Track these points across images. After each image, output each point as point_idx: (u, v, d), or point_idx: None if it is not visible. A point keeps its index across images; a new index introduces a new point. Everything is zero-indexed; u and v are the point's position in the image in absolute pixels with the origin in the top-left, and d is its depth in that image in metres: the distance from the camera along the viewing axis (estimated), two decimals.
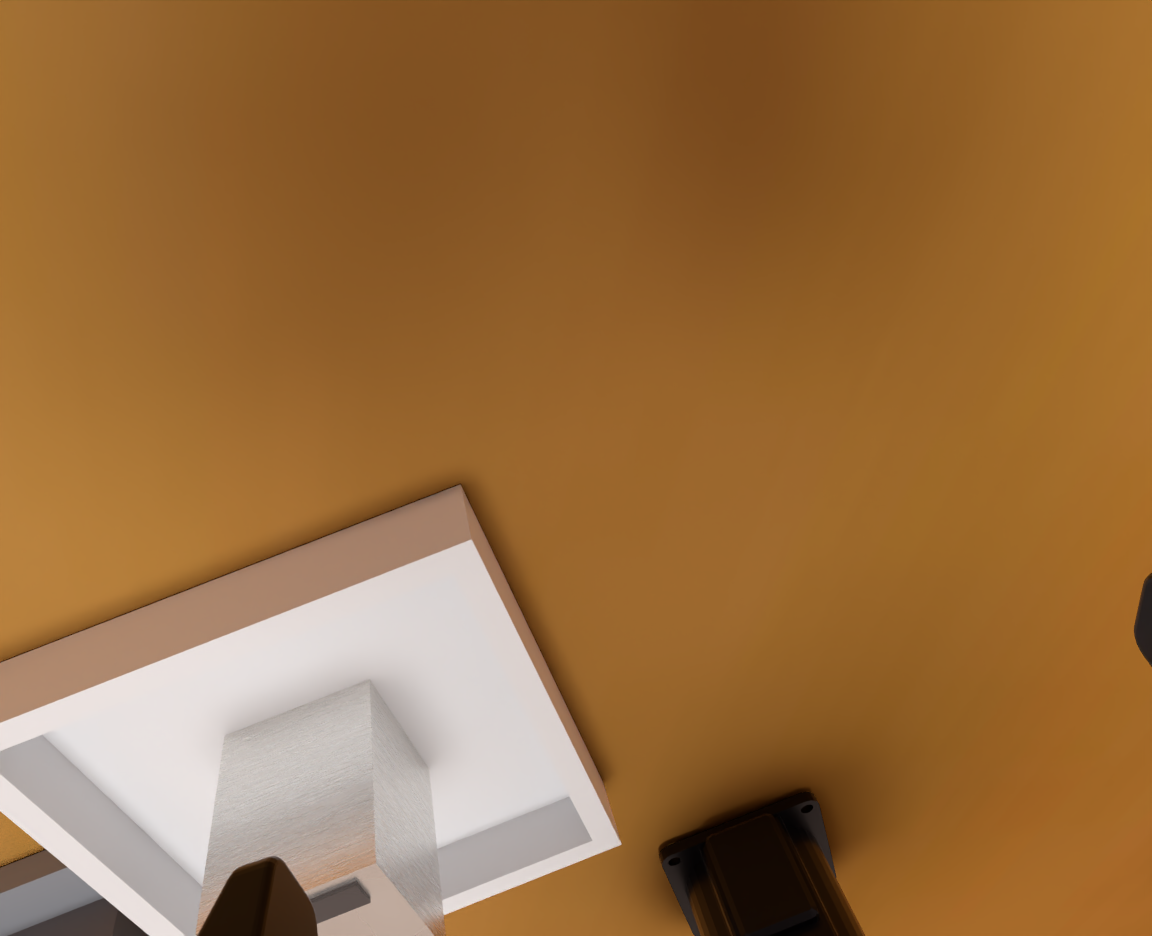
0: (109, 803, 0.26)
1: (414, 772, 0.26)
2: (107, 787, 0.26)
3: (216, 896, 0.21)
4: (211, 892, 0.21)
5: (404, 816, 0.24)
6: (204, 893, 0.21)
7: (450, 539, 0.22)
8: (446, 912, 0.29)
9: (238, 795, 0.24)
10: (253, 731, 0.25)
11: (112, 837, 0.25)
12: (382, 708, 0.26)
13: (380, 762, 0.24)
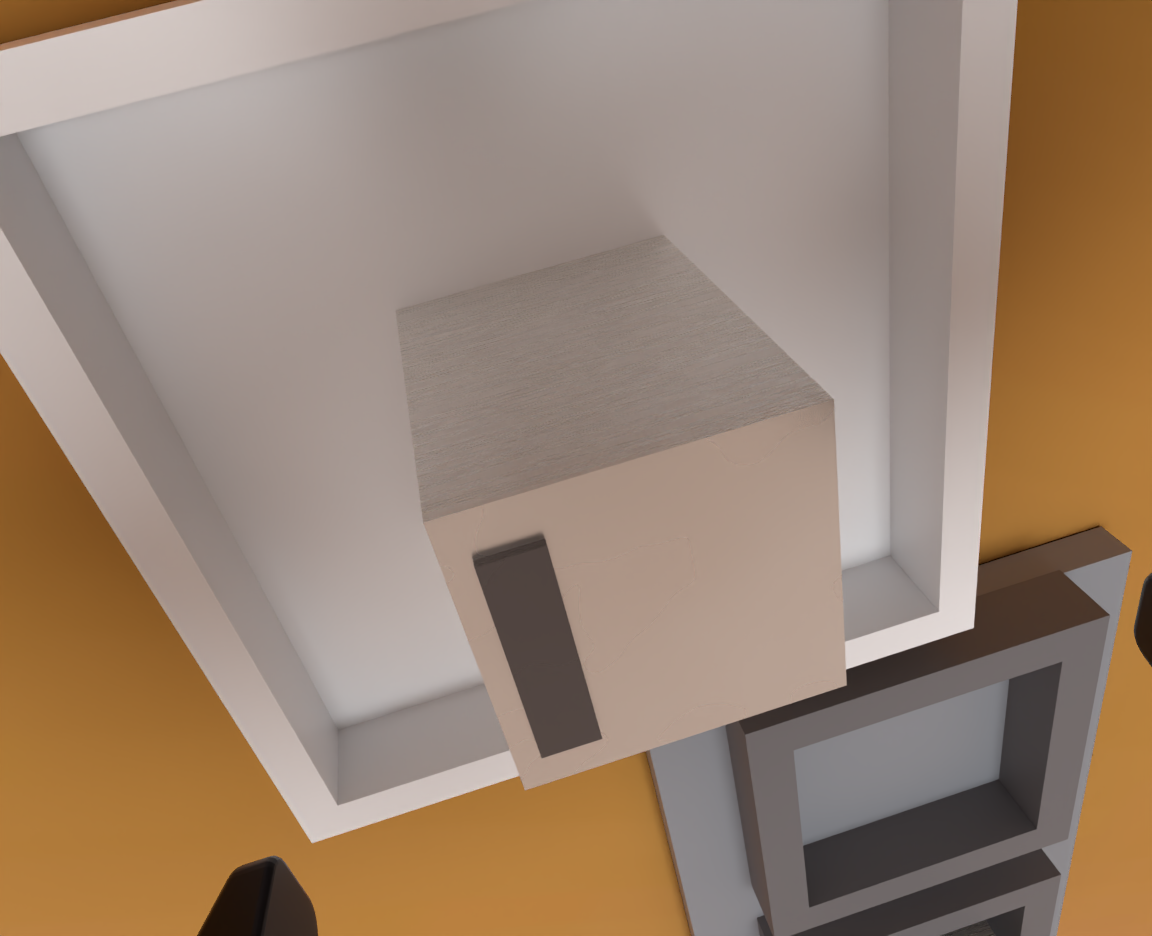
0: None
1: (599, 281, 0.13)
2: None
3: None
4: None
5: (561, 362, 0.11)
6: None
7: None
8: (993, 279, 0.14)
9: None
10: None
11: None
12: (450, 305, 0.14)
13: (442, 371, 0.12)
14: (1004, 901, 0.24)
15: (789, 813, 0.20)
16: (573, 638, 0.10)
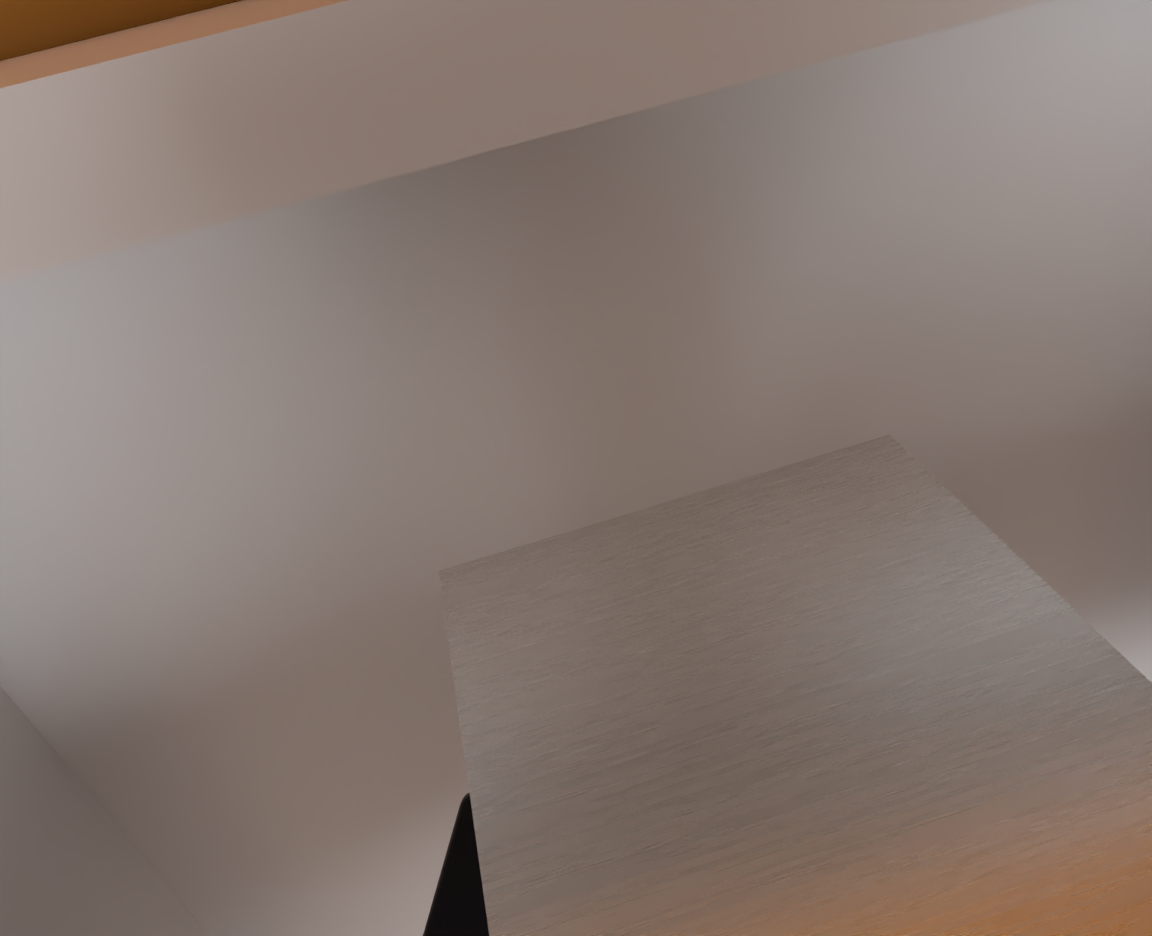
0: None
1: (806, 544, 0.07)
2: None
3: None
4: None
5: (800, 811, 0.05)
6: None
7: None
8: None
9: None
10: None
11: None
12: (536, 572, 0.08)
13: (545, 787, 0.06)
14: None
15: None
16: None
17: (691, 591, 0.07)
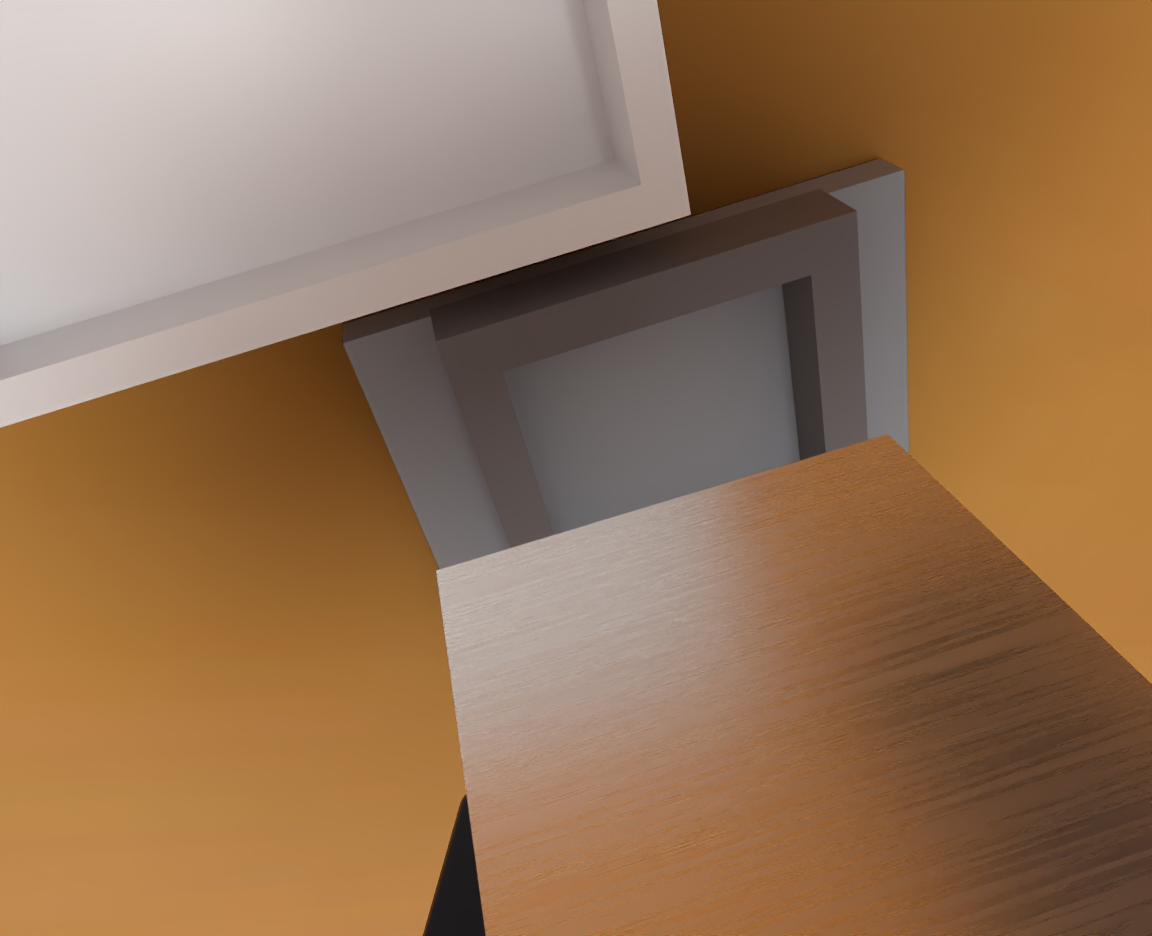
0: (228, 278, 0.17)
1: (804, 544, 0.07)
2: (198, 273, 0.17)
3: None
4: None
5: (799, 810, 0.05)
6: None
7: None
8: None
9: None
10: None
11: (248, 287, 0.16)
12: (533, 571, 0.08)
13: (542, 786, 0.06)
14: None
15: (519, 465, 0.18)
16: None
17: (689, 590, 0.07)
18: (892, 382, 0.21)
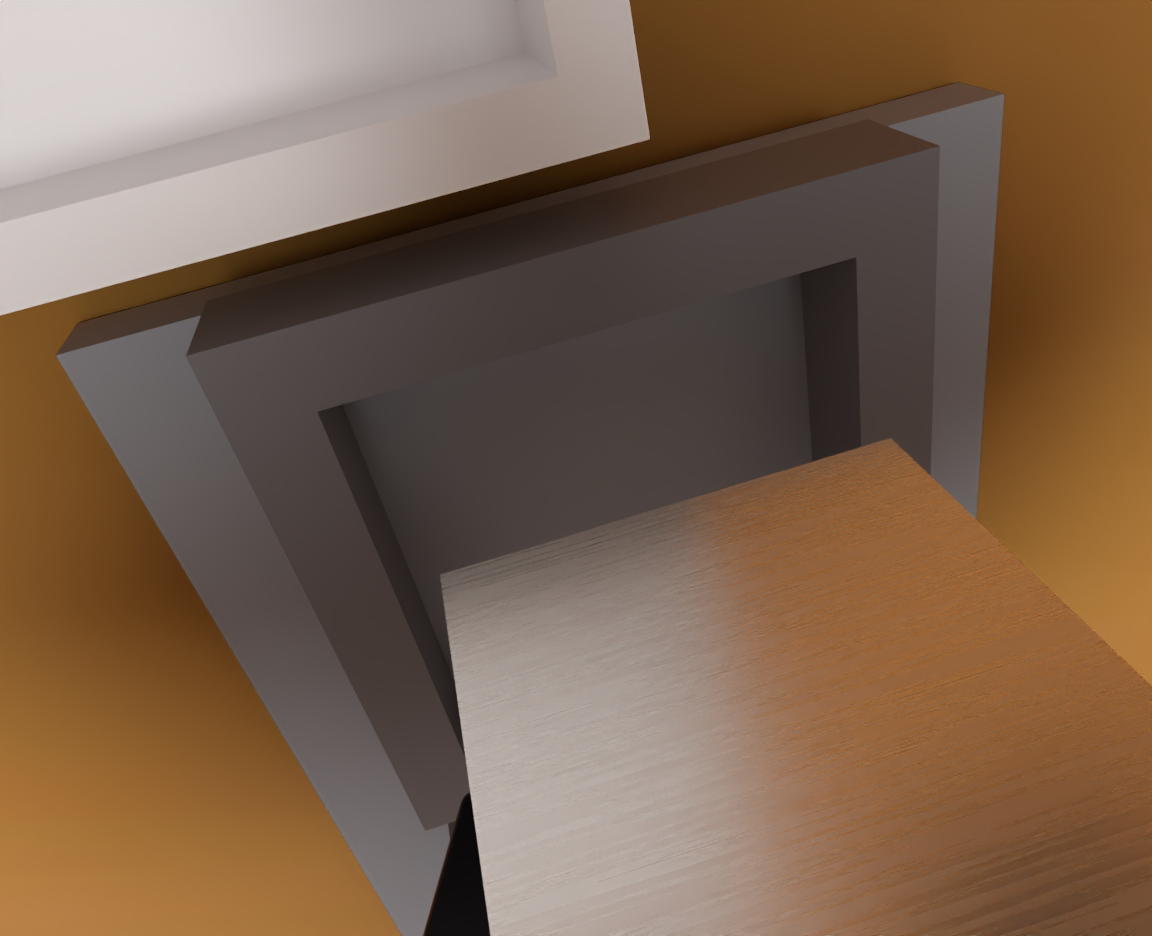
0: None
1: (807, 549, 0.07)
2: None
3: None
4: None
5: (802, 816, 0.05)
6: None
7: None
8: None
9: None
10: None
11: None
12: (537, 575, 0.08)
13: (546, 792, 0.06)
14: None
15: (360, 565, 0.11)
16: None
17: (692, 595, 0.07)
18: (959, 433, 0.14)
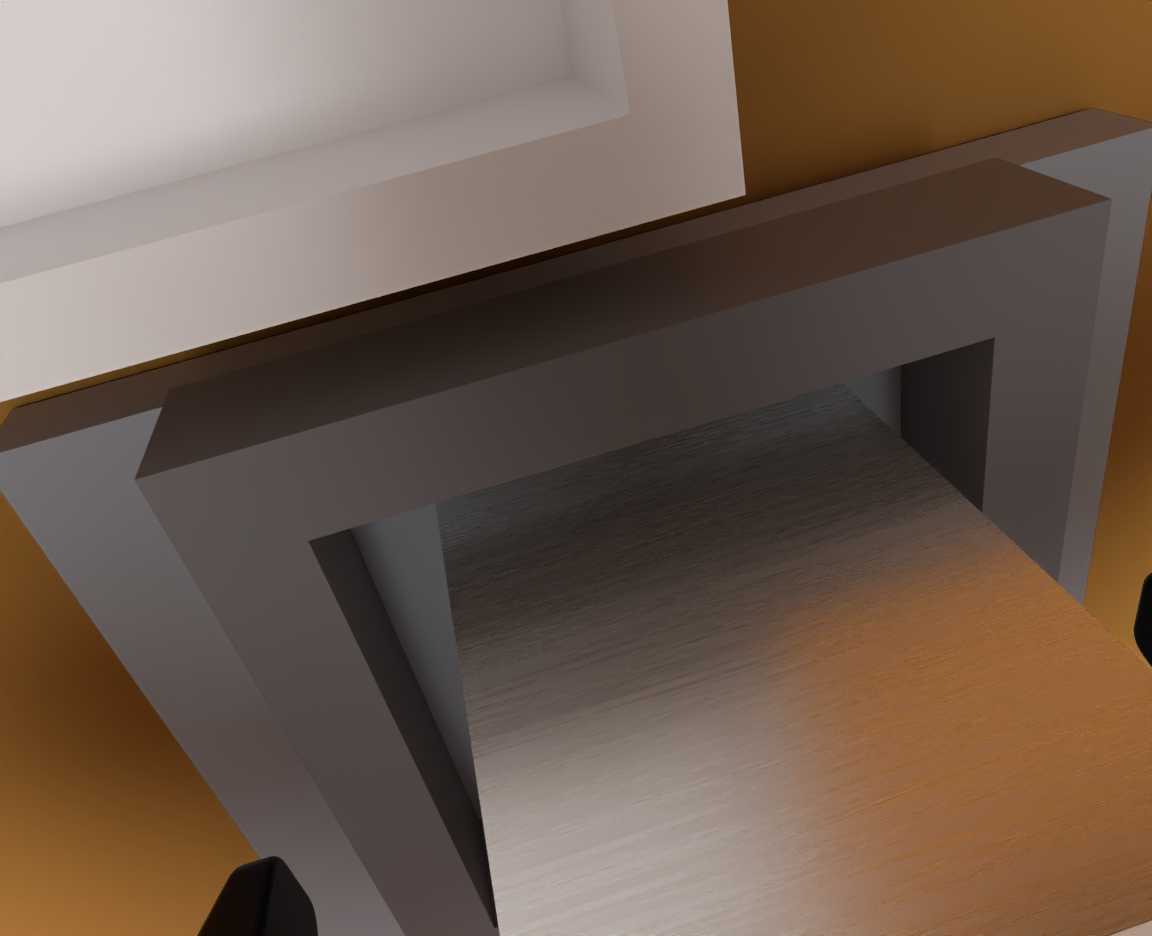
0: None
1: (750, 460, 0.09)
2: None
3: None
4: None
5: (730, 655, 0.07)
6: None
7: None
8: None
9: None
10: None
11: None
12: (518, 488, 0.09)
13: (520, 647, 0.07)
14: None
15: (364, 715, 0.09)
16: None
17: (650, 498, 0.08)
18: (1072, 519, 0.12)
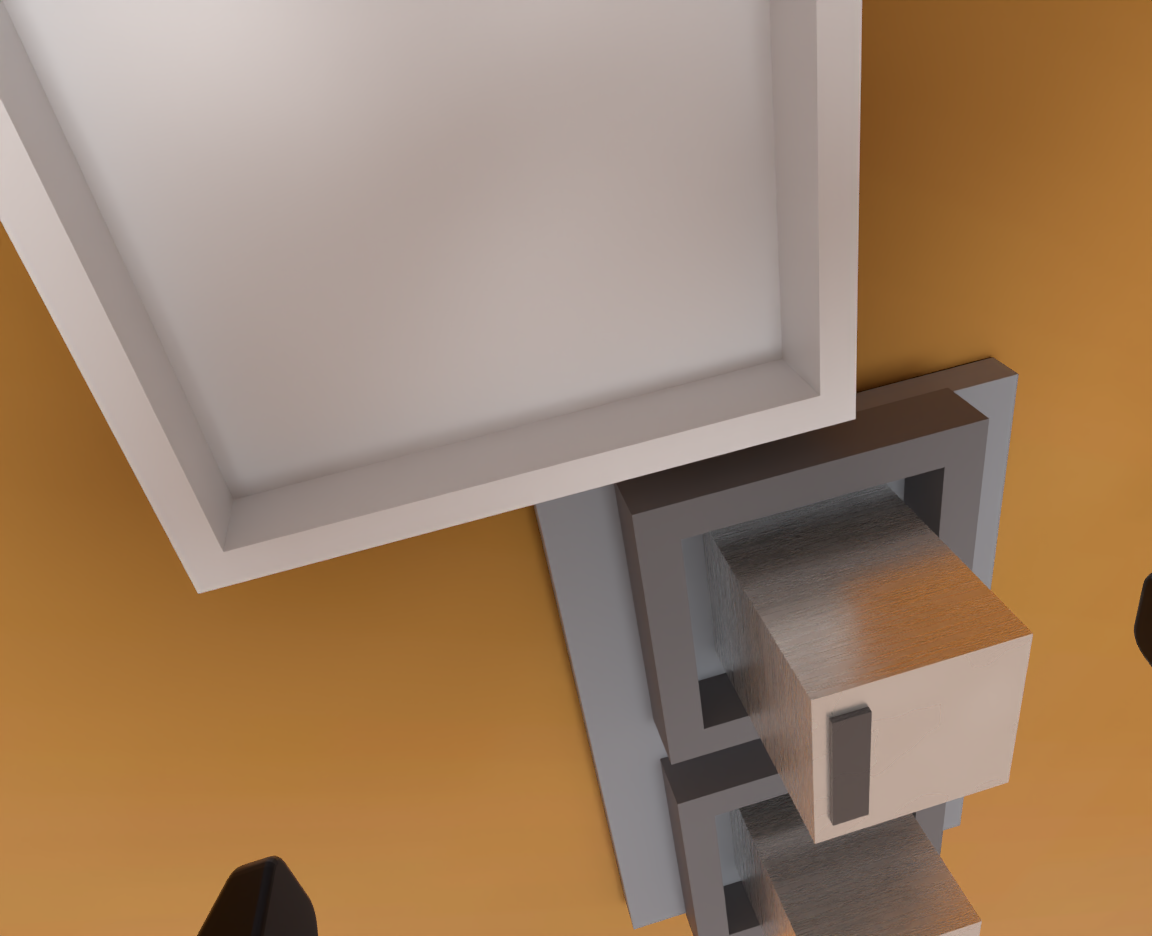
0: (448, 447, 0.19)
1: (844, 511, 0.21)
2: (423, 441, 0.19)
3: (798, 800, 0.19)
4: (795, 799, 0.19)
5: (846, 584, 0.19)
6: (794, 802, 0.19)
7: None
8: (857, 19, 0.15)
9: (748, 698, 0.21)
10: (716, 633, 0.23)
11: (475, 462, 0.18)
12: None
13: (765, 581, 0.19)
14: None
15: (679, 613, 0.20)
16: (868, 758, 0.17)
17: (803, 526, 0.20)
18: (984, 540, 0.24)
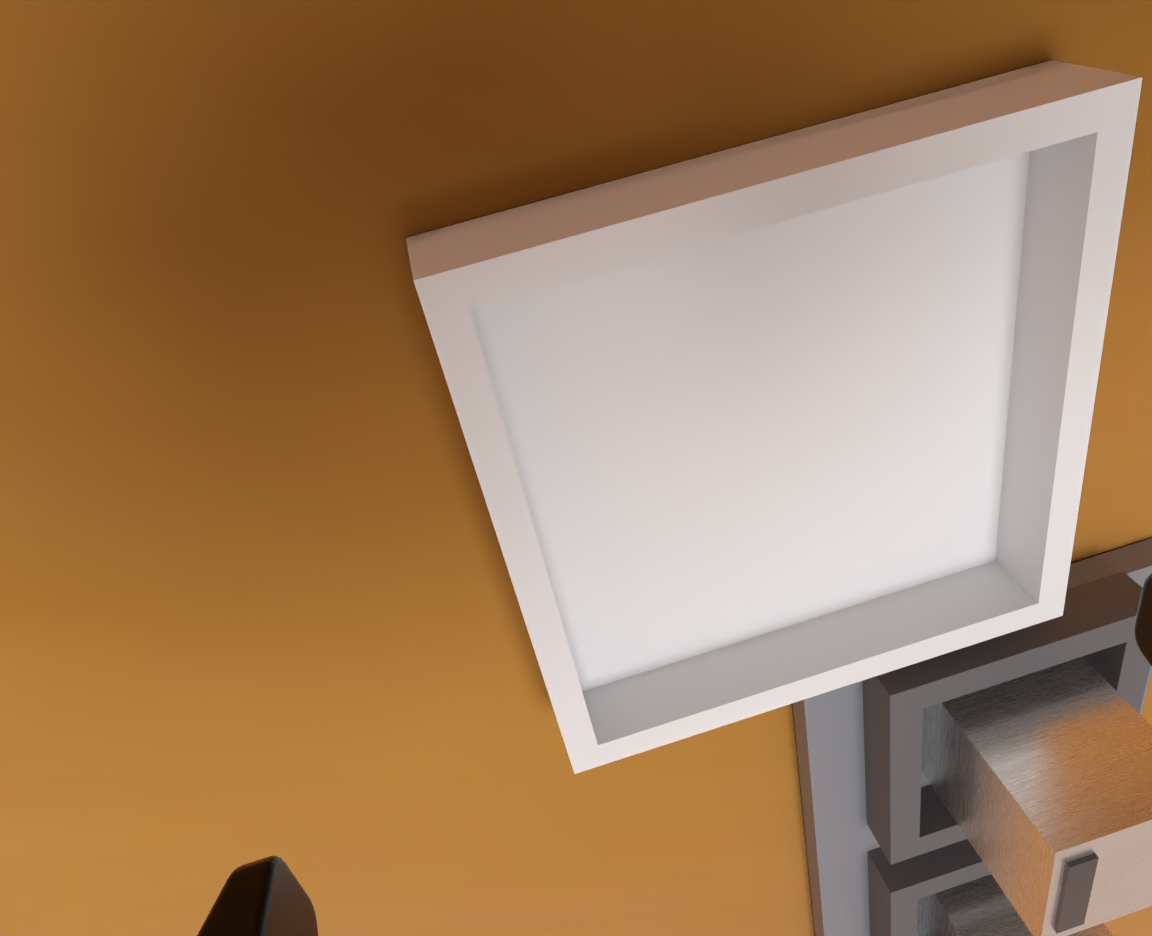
0: (742, 644, 0.25)
1: (1042, 674, 0.26)
2: (723, 641, 0.24)
3: (1022, 910, 0.25)
4: (1018, 908, 0.25)
5: (1060, 745, 0.24)
6: (1017, 910, 0.25)
7: None
8: (1096, 369, 0.20)
9: (964, 819, 0.27)
10: (926, 759, 0.28)
11: (770, 661, 0.24)
12: None
13: (992, 741, 0.24)
14: None
15: (914, 759, 0.26)
16: (1089, 887, 0.23)
17: (1011, 688, 0.26)
18: None
